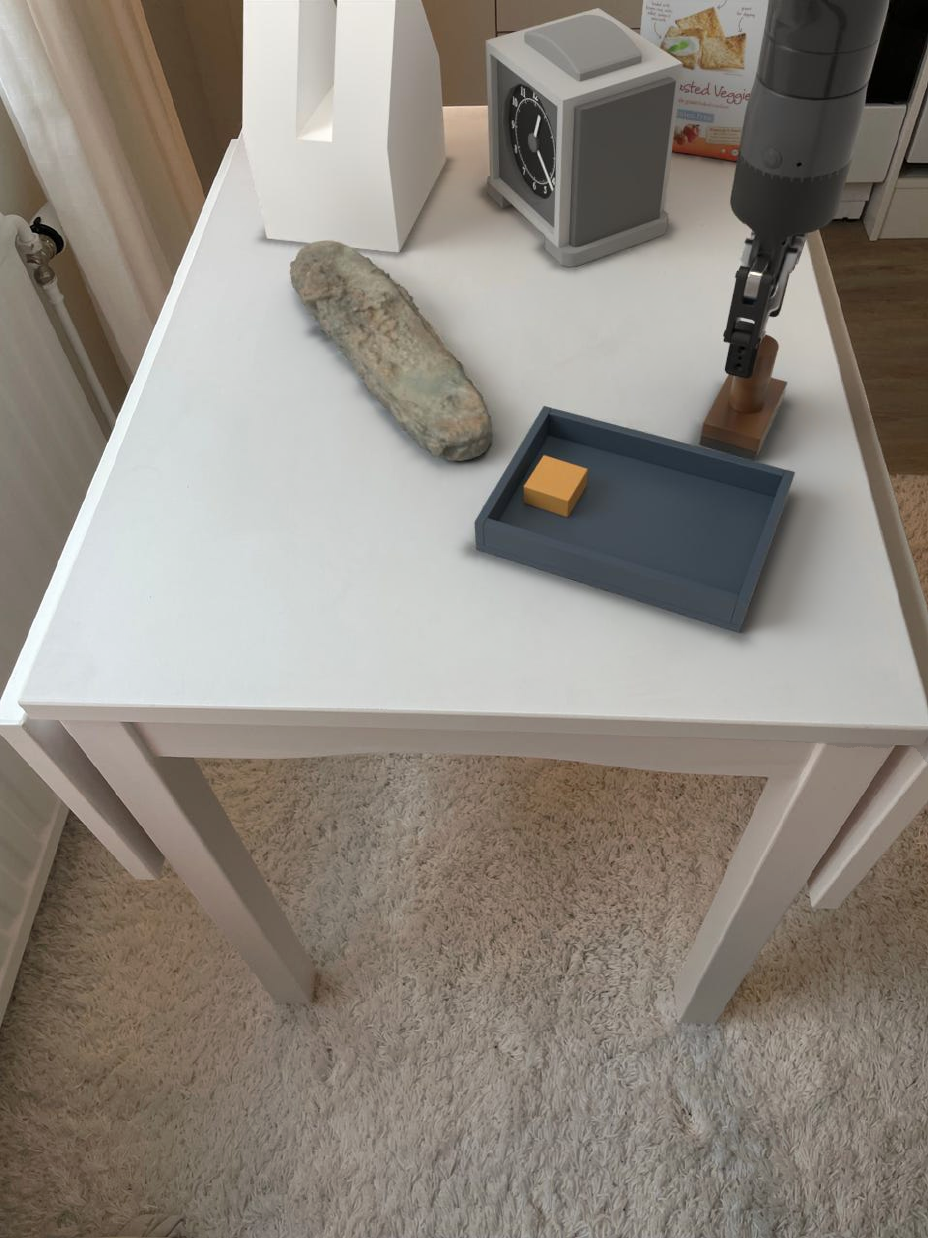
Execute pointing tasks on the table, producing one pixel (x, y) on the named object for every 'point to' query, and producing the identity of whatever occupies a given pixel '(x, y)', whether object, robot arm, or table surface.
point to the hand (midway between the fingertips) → (752, 342)
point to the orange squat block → (555, 486)
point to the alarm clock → (582, 133)
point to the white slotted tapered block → (341, 118)
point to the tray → (642, 517)
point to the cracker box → (709, 67)
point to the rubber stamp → (746, 407)
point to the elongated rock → (393, 349)
